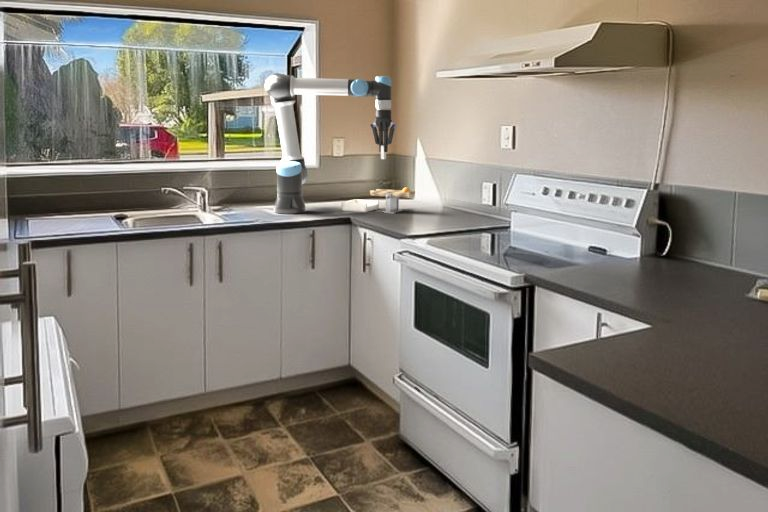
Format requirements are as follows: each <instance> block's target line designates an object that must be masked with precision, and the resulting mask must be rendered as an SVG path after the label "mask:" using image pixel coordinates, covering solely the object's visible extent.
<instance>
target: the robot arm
mask: <svg viewBox="0 0 768 512" xmlns="http://www.w3.org/2000/svg"><path fill="white" fill-rule="evenodd" d="M264 89H265V92H266V93H267V94H268V96H270V104H271V105H272V106H273V107H274V108H275V115H276V121H277V122H276V123H277V127H278V128H277V130H278V135H279V141H280V148H281V154H282V158H281V160H279V161H280V162H279V163H277V164H276V170H275V171H276V192H277V193H276V195H277V196H276V199H275V202H274V205H273V213H276V214H285V215H286V214H288V215H289V214H292V215H293V214H303V213H306V212H307V207H306V203H305V199H304V198H303V184H305V183H306V181H307V179H308V176H309V172H308V169H307V166H306V161H305V157H304V156H302V155H301V150H300V143H299V135H298V131H297V130H298V129H297V124H296V117H295V111H294V104H295V103H296V96H297V95H299V96H300V95H301V96H338V97H339V96H343V97H346V96H347V97H354V98H355V97H356V98H360V97H362V98H364V97H365V98H366V97H369V98H371V97H373V98H374V97H375V109H376V110H375V119H374V122H373V123H371V124H370V127H371V130H372V133H373V138H374V142H375V143H374V144H376V145H378V151H379V153H380V159H381V160H386V159H387V153H388V151H389V149H388V148H389V147H388V146H389V145H392V141H393V138H394V132H395V129H396V127H397V124H396V123H393V120H392V110H391V109H392V78H391V77H390V76H389V75H388V76H387V75H379V76H378V75H377V76H375V78H374V80H364V79H362V78H357V79H352V78H351V79H349V78H321V77H320V78H317V77H316V78H314V77H313V78H312V77H311V78H310V77H295V76H294V75H289V74H288V75H287V74H285V73H278V72H277V73H272V74H269V76H268V77H267V78H266V79H265V83H264ZM389 127H390V128H389Z"/></svg>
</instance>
